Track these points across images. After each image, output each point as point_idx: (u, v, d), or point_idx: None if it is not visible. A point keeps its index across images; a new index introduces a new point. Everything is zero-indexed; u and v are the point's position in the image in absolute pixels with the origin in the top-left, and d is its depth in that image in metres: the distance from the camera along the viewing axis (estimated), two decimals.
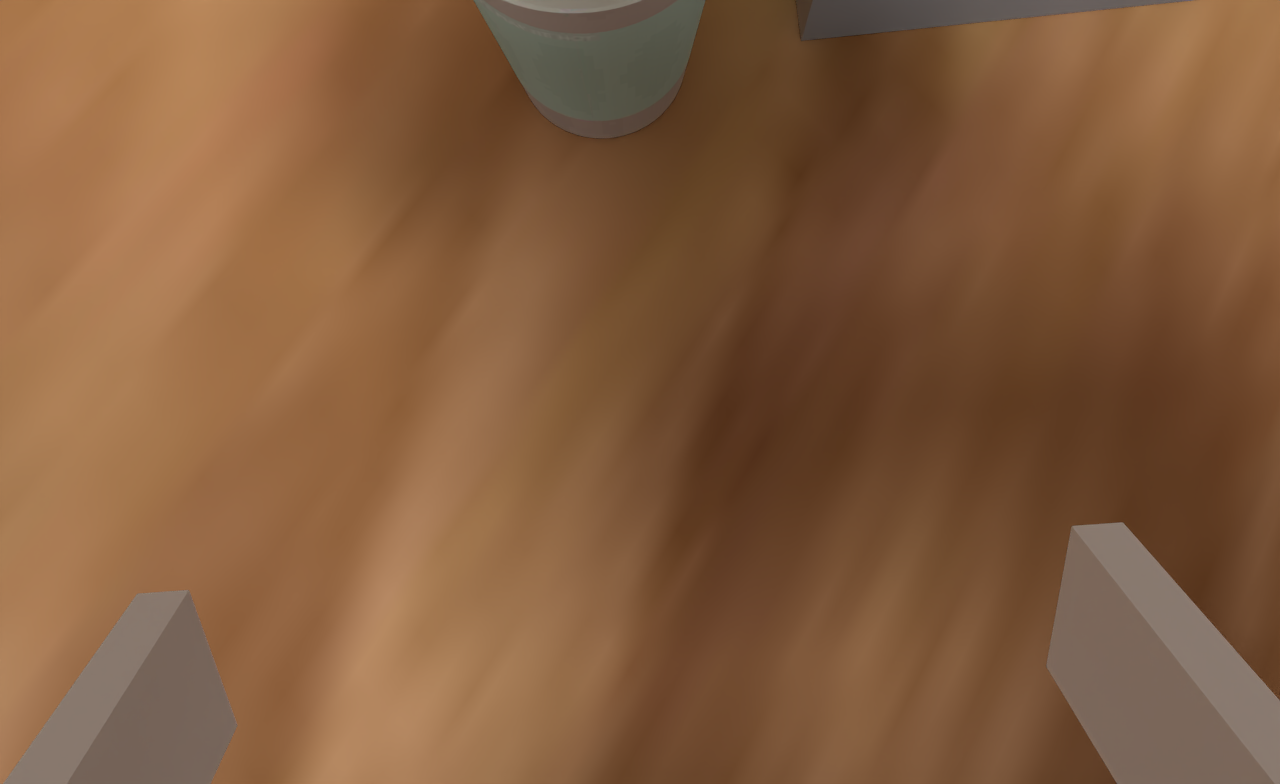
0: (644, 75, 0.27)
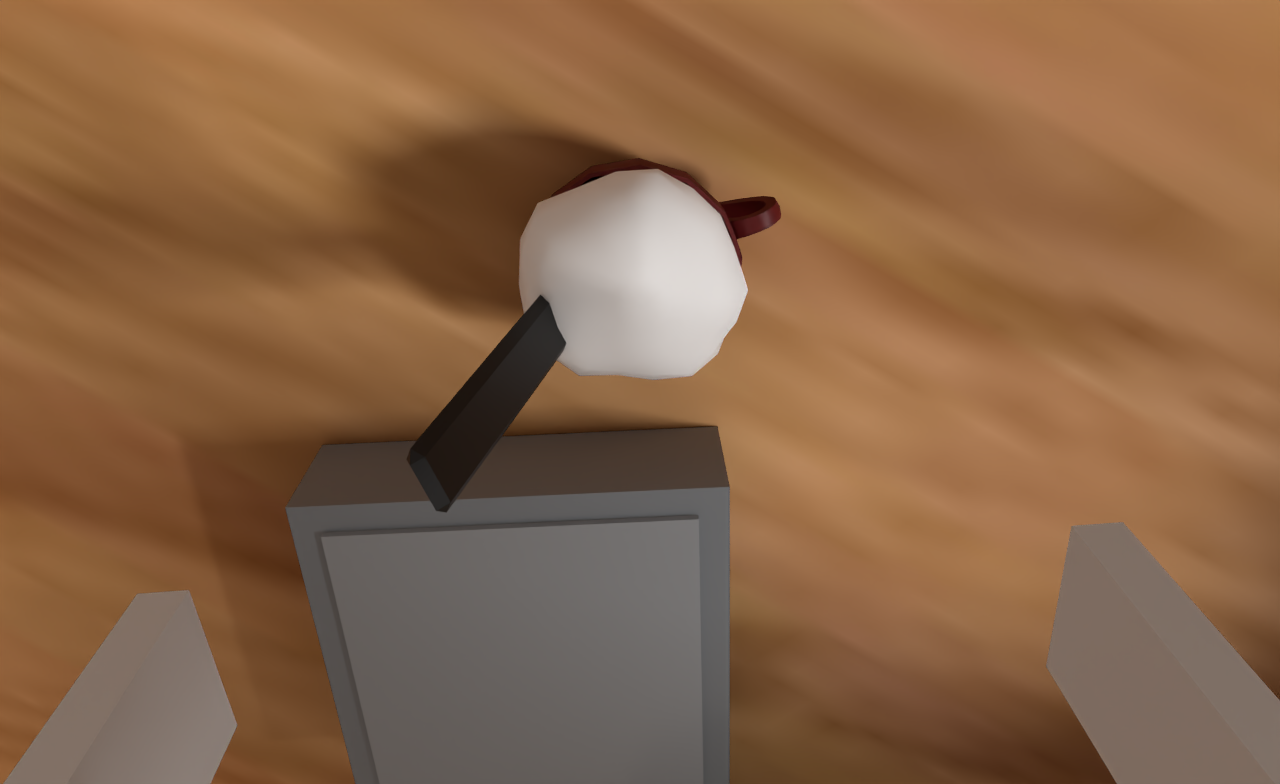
0: None
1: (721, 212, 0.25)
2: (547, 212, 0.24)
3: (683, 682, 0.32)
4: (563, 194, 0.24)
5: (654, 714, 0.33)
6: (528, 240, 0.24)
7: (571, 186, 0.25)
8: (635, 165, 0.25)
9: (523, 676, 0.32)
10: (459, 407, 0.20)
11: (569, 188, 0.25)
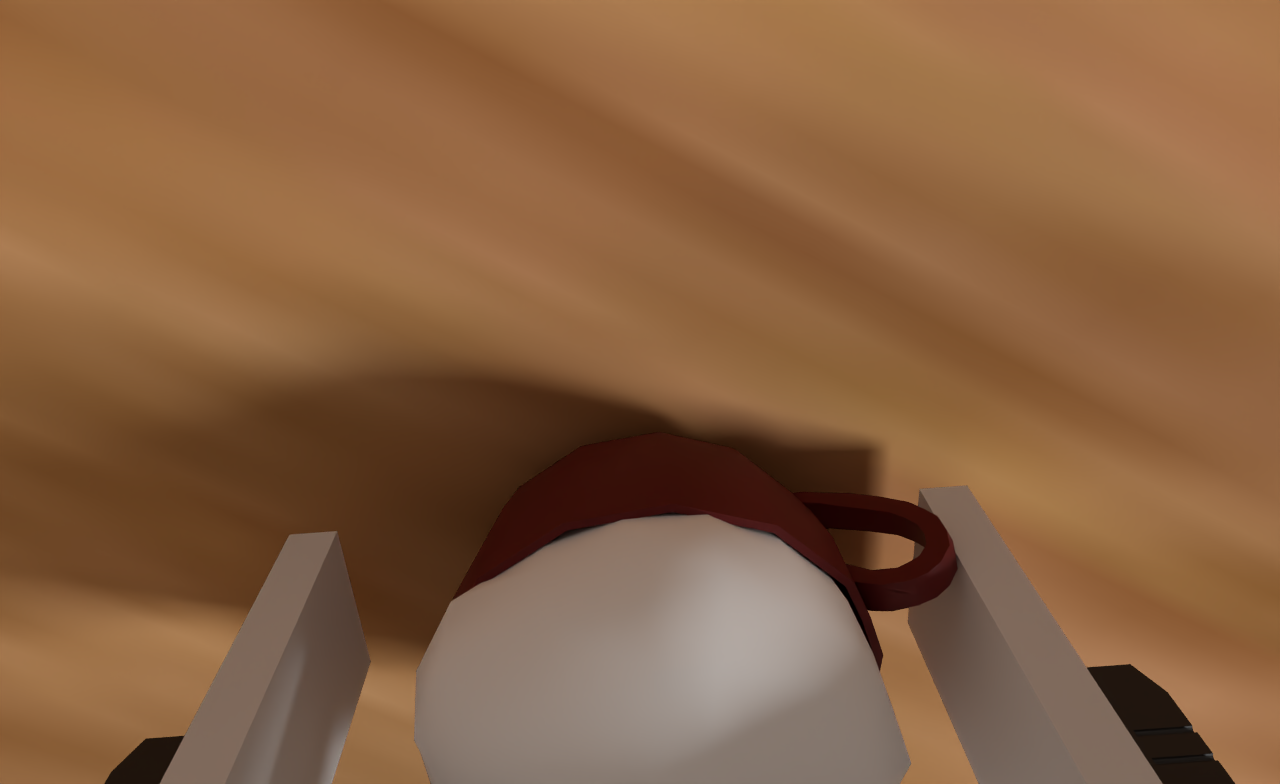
0: None
1: (844, 582, 0.12)
2: (468, 652, 0.10)
3: None
4: (506, 587, 0.11)
5: None
6: (426, 716, 0.10)
7: (525, 546, 0.12)
8: (662, 503, 0.11)
9: None
10: None
11: (521, 551, 0.12)
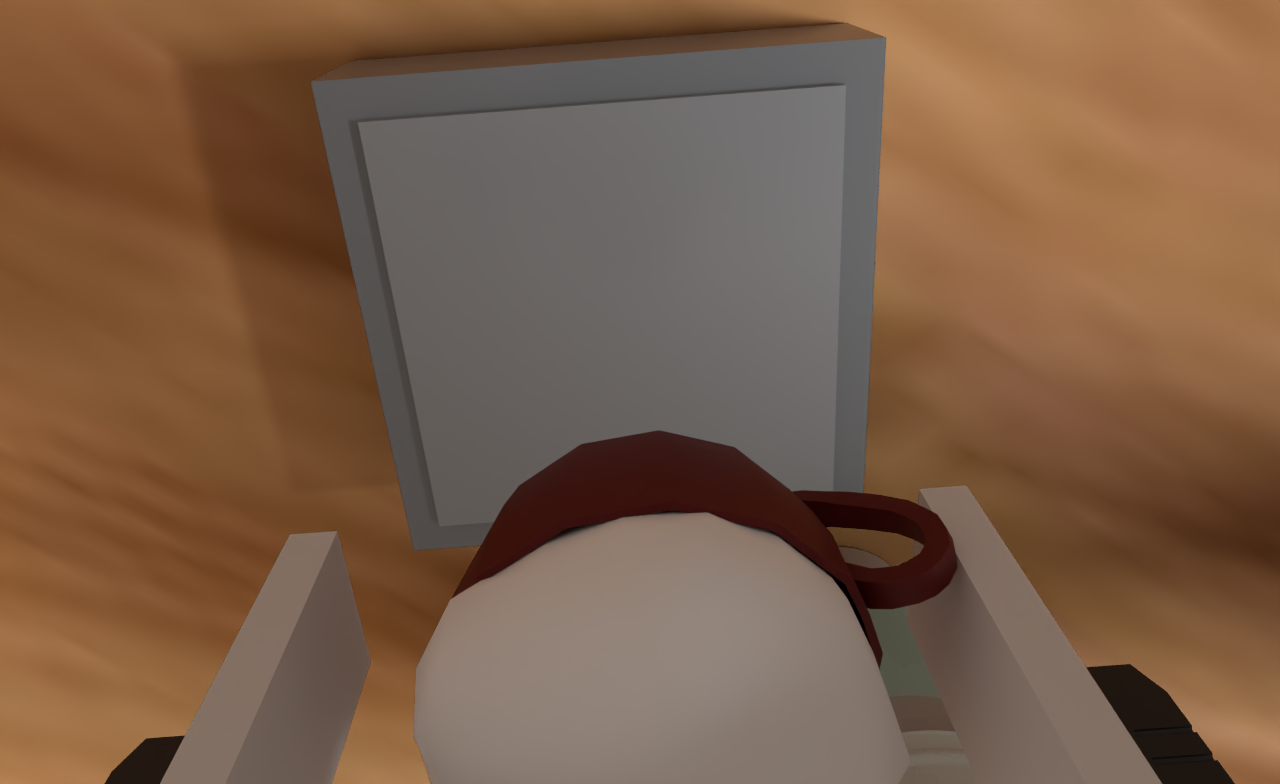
0: None
1: (844, 580, 0.12)
2: (468, 650, 0.10)
3: (815, 340, 0.25)
4: (506, 585, 0.11)
5: (776, 389, 0.26)
6: (426, 713, 0.10)
7: (525, 544, 0.12)
8: (662, 501, 0.11)
9: (615, 335, 0.25)
10: None
11: (521, 549, 0.12)
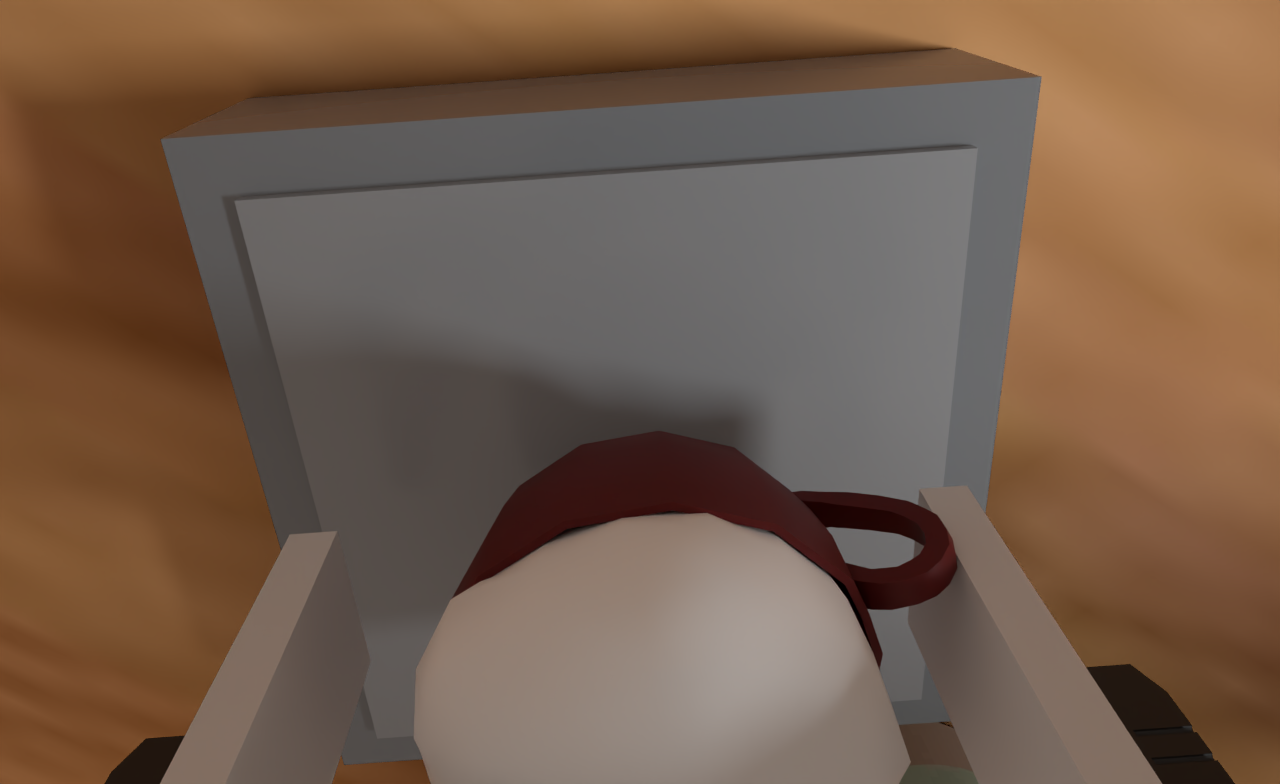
0: None
1: (844, 580, 0.12)
2: (467, 650, 0.10)
3: None
4: (506, 586, 0.11)
5: None
6: (426, 714, 0.10)
7: (525, 544, 0.12)
8: (662, 502, 0.11)
9: None
10: None
11: (521, 550, 0.12)
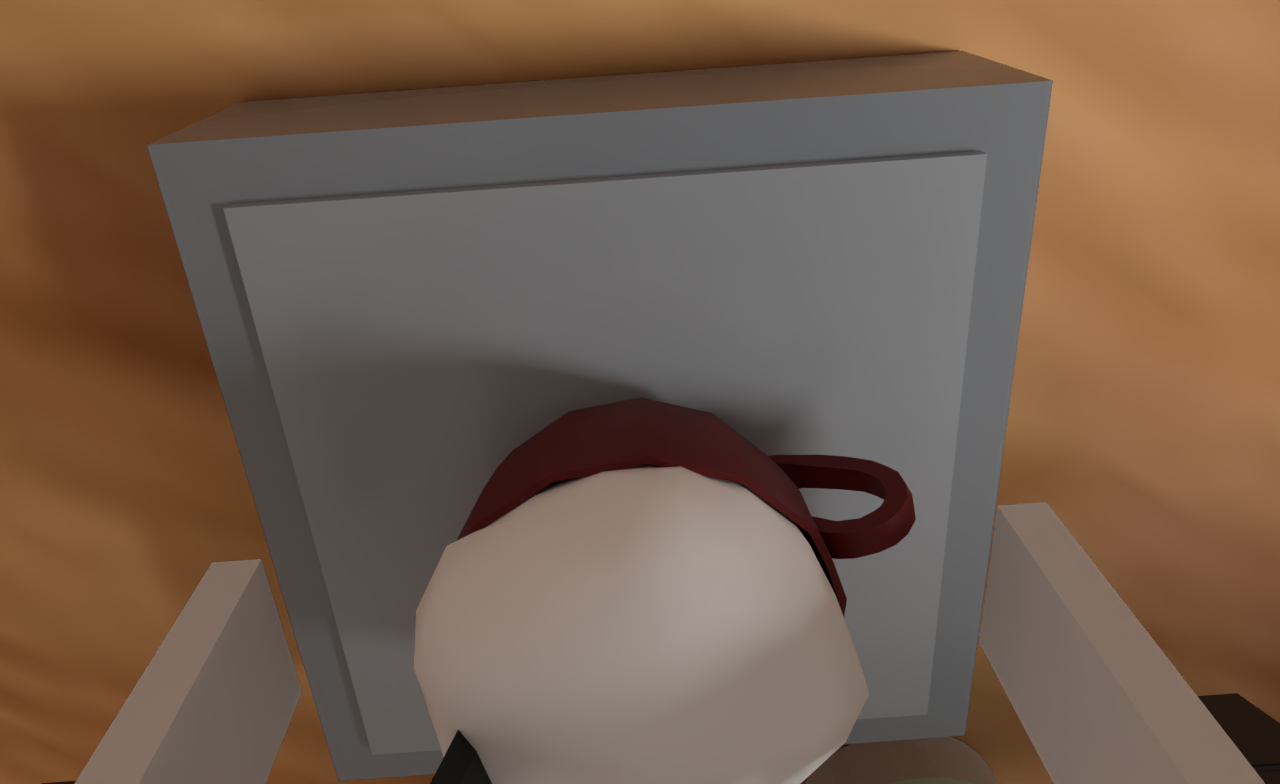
0: None
1: (809, 529, 0.13)
2: (461, 588, 0.11)
3: (915, 516, 0.17)
4: (496, 532, 0.12)
5: (855, 580, 0.18)
6: (424, 646, 0.12)
7: (515, 497, 0.13)
8: (639, 456, 0.13)
9: None
10: None
11: (511, 502, 0.13)
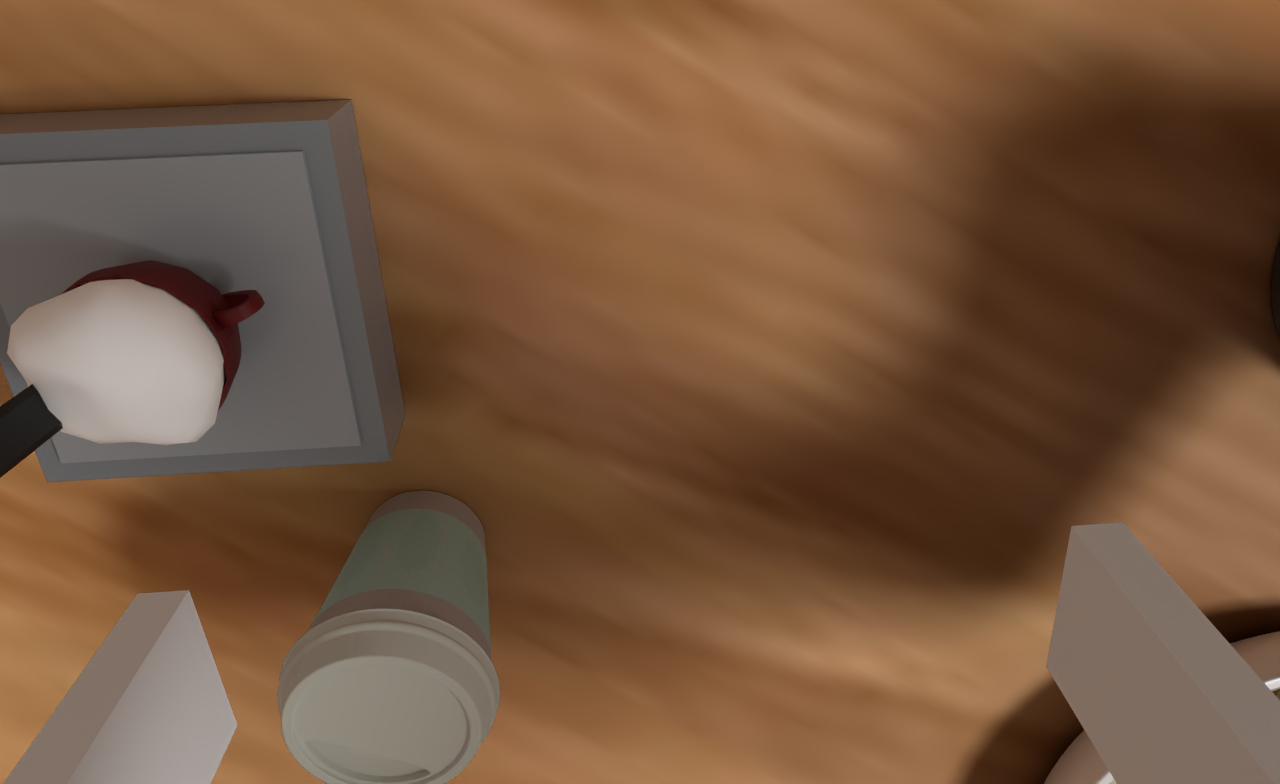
0: (480, 576, 0.41)
1: (196, 310, 0.31)
2: (24, 319, 0.29)
3: (320, 330, 0.35)
4: (46, 301, 0.30)
5: (299, 365, 0.36)
6: (9, 342, 0.29)
7: (63, 292, 0.30)
8: (114, 274, 0.30)
9: None
10: None
11: (61, 293, 0.30)
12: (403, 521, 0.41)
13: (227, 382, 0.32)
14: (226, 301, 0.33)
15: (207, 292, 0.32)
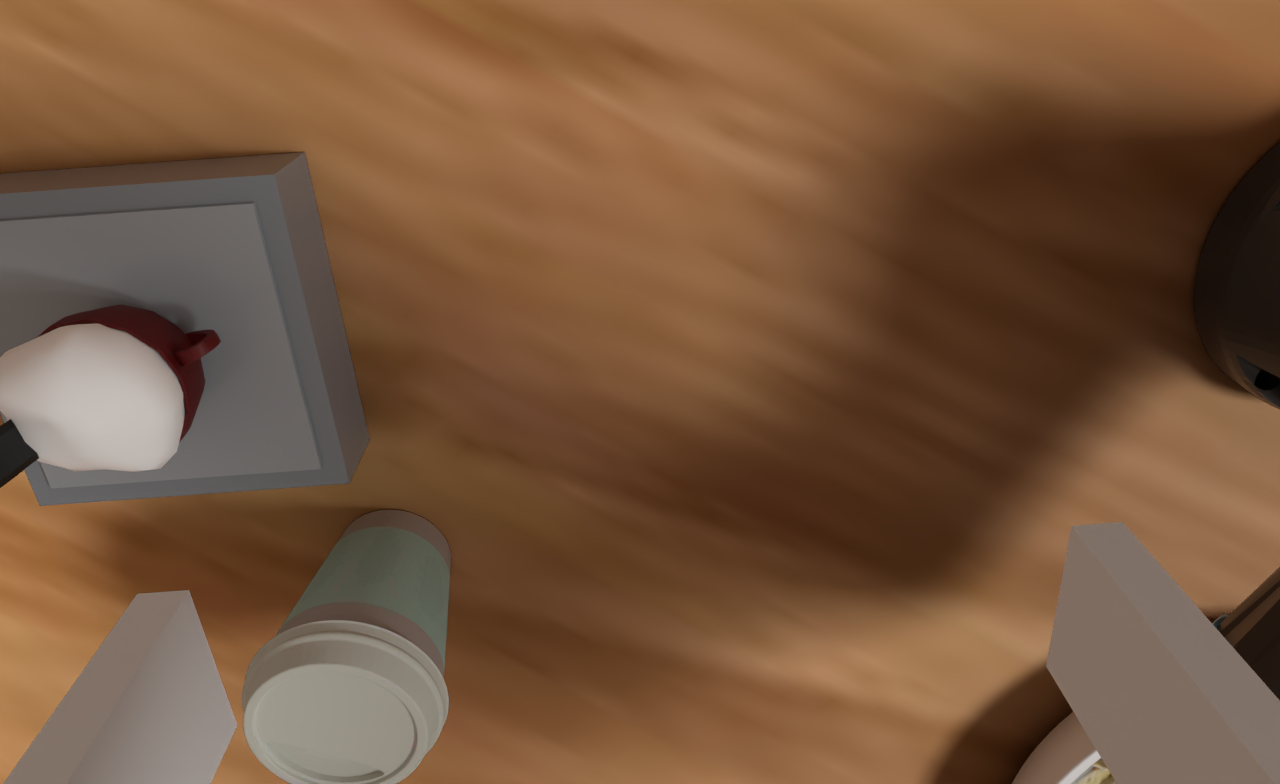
0: (437, 590, 0.43)
1: (156, 349, 0.34)
2: (1, 361, 0.32)
3: (278, 364, 0.38)
4: (22, 345, 0.33)
5: (260, 396, 0.39)
6: None
7: None
8: (82, 319, 0.33)
9: None
10: None
11: (37, 337, 0.34)
12: (367, 538, 0.44)
13: (187, 414, 0.35)
14: (189, 340, 0.37)
15: (169, 332, 0.35)
